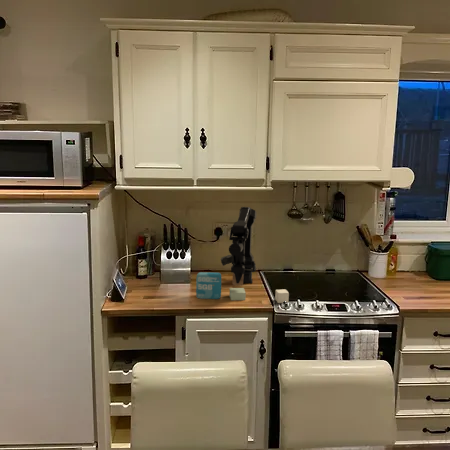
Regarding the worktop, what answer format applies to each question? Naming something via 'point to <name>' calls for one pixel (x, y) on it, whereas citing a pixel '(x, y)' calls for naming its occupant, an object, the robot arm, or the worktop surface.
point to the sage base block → (237, 294)
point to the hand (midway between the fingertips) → (237, 281)
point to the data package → (208, 285)
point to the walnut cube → (235, 280)
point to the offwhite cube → (282, 296)
